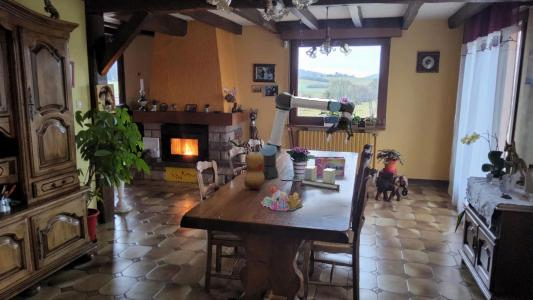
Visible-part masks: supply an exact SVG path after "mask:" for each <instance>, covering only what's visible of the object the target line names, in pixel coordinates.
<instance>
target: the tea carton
mask: <svg viewBox="0 0 533 300" xmlns="http://www.w3.org/2000/svg"><path fill="white" fill-rule="evenodd" d="M335 170H336V169H330V168H327V169H324V170H323V175H322V180H321V182H327V183H333V184H336V175H335Z"/></svg>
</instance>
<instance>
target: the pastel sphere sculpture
mask: <svg viewBox="0 0 533 300" xmlns="http://www.w3.org/2000/svg"><path fill="white" fill-rule="evenodd" d="M269 192H270V193H271V194H272V196H271V197H269V196H265V197H264V198H263V200H261V202H260V205H261V204H262V205H263V206H262V205H261V206H262V207H264V206H266V207H265V208H269V207H270V208H271V209H272V210H271V209H270V208H269V209H270V210H271V211H275V210H276V211H278V212H283V211H284V212H285V211H296V210H297V208H301V207H303V205H304V204H303V200H301V199H300V198H299V197H300V193H298V192H295V191H293V194H292V195H291V194H290V195H288V193H287V192H285V191H283V190H279V189H278V190H277V188H276V187H275V186H271V187H270V188H269Z"/></svg>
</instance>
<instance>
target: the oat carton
mask: <svg viewBox="0 0 533 300" xmlns="http://www.w3.org/2000/svg"><path fill="white" fill-rule="evenodd" d="M303 168H304V170H303V171H304V172H303V179H307V180H314V181H318V180H317V177H318V175H317V167H315V165H308V166H305V167H303Z"/></svg>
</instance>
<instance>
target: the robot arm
mask: <svg viewBox="0 0 533 300" xmlns="http://www.w3.org/2000/svg"><path fill="white" fill-rule="evenodd" d="M274 103H275V108H274V109H275V110H276V112H275V116H274V119H273V120H274V121H273V124H272V129H271V134H270V138H269V140H267V143H266V145H263V146H262V147H261V149H260V153H261V154H263V156H264V168H263V174H264V179H267V180H269V179H270V180H271V179H272V180H273V179H277V178H279V171H278V168H277V159H279V157H281V154H282V151H281V150H282V137H283V134H284V129H285V125H286V120H287V116H288V114H289V112H290V111H291V109H293V108H300V109H301V108H302V109H309V110H320V111H327V112H333V113H336V112H338V113H341V114H340V116H339V120H338V121H337V122H338V123H335V122H334V123H333V124H331V126H330V127H329V128H328V129H327V130H326V131H325V133H326V143H327V144H328V143H329V142H330V140H331V137H332V135H333V134H334V133H337V132H339V131H345V133H346V134H347V135H346V137H345V139H344V144H345V145H347V144H348V141H350V139H351V137H352V138H353V137H354V132H353V125H352V124H351V123H350V122H351V119H352V117H353V113H354V111H355V107H356V105H355V103H354V102H353V101H347V102H343V101H340V100H338V99H334V98H330V99H320V98H312V97H303V96H302V97H301V96H294V95H293V94H291V93H290V92H286V91H282V92H280V93H278V94H276V96H275V98H274ZM348 128H349V130H350V131H349V130H348Z"/></svg>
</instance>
